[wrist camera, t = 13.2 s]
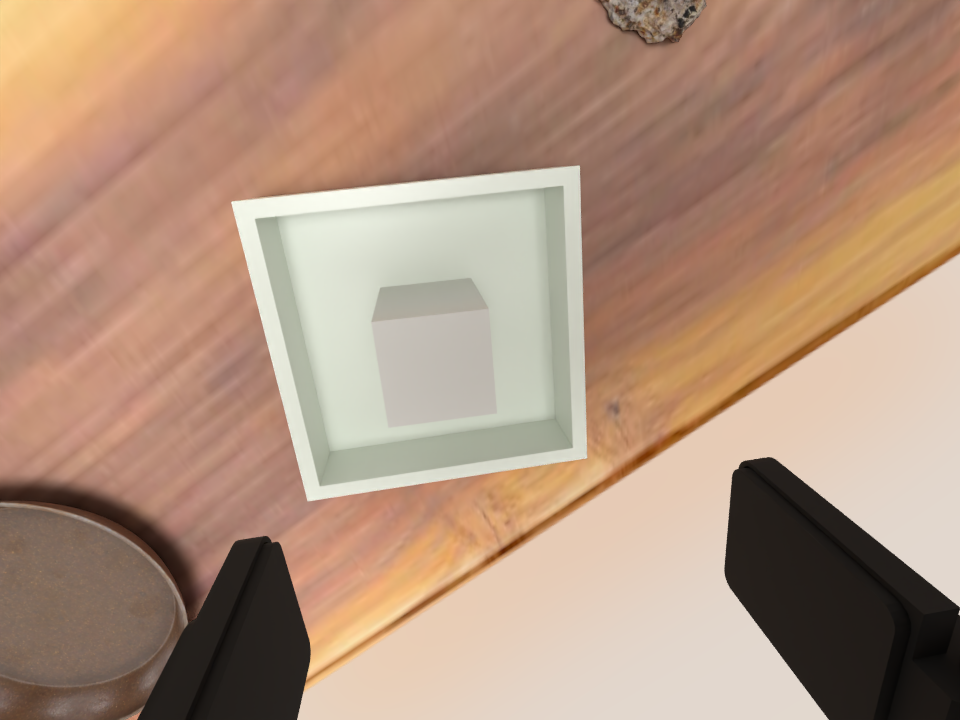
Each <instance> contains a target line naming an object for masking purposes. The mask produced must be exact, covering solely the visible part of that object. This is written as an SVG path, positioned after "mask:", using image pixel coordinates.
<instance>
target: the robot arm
mask: <svg viewBox="0 0 960 720" xmlns="http://www.w3.org/2000/svg"><path fill="white" fill-rule="evenodd" d="M725 577H726V580H727V583H728V585H729V587H730V588H731V590H732V591H733V592H734V594H735V595H736V597H737V598H738V599H739V601H740V602H741V603H742V605H743V606H744V607H745V608H746V610H747V611H748V612H749V614H750V615H751V617H752V618H753V619H754V621H755V622H756V623H757V624H758V626H759V627H760V629H761V630H762V631H763V633H764V634H765V635H766V637H767V638H768V639H769V640H770V642H771V643H772V645H773V646H774V647H775V649H776V650H777V651H778V653H779V654H780V655H781V656H782V658H783V659H784V661H785V662H786V663H787V664H788V666H789V667H790V669H791V670H792V671H793V672H794V674H795V675H796V676H797V678H798V679H799V681H800V682H801V683H802V684H803V686H804V687H805V689H806V690H807V691H808V692H809V694H810V695H811V697H812V698H813V699H814V701H815V702H816V703H817V705H818V706H819V707H820V708H821V710H822V711H823V712H824V714H825V715H826V717H827V718H828V719H829V720H960V615H958V613H959V610H960V607H959V606H957V605H956V604H955V603H953V602H952V601H951V600H950V599H948V598H947V597H946V596H945V595H944V594H942V593H941V592H940V591H939V590H937V589H936V588H935V587H933V586H932V585H931V584H930V583H929V582H927V581H926V580H925V579H924V578H923V577H921V576H920V575H919V574H918V573H916V572H915V571H914V570H912V569H911V568H910V567H909V566H907V565H906V564H905V563H904V562H903V561H901V560H900V559H899V558H898V557H896V556H895V555H894V554H893V553H891V552H890V551H889V550H888V549H886V548H885V547H884V546H883V545H881V544H880V543H879V542H878V541H876V540H875V539H874V538H873V537H871V536H870V535H869V534H868V533H867V532H865V531H864V530H863V529H862V528H860V527H859V526H858V525H857V524H855V523H854V522H853V521H851V520H850V519H849V518H848V517H847V516H845V515H844V514H843V513H842V512H840V511H839V510H838V509H837V508H835V507H834V506H833V505H832V504H830V503H829V502H828V501H826V500H825V499H824V498H823V497H822V496H820V495H819V494H818V493H817V492H816V491H814V490H813V489H812V488H810V487H809V486H808V485H807V484H805V483H804V482H803V481H802V480H801V479H799V478H798V477H797V476H796V475H794V474H793V473H792V472H791V471H789V470H788V469H787V468H786V467H784V466H783V465H782V464H780V463H779V462H778V461H777V460H775V459H773V458H770V457H767V458H760V459H754V460H747V461H743V462H742V463H741V464H740V465H739V469H737V470H735V471H734V472H733V475H732V485H731V497H730V509H729V521H728V533H727V545H726V557H725ZM310 655H311V650H310V642H309V638H308V634H307V631H306V628H305V624H304V621H303V618H302V614H301V611H300V608H299V604H298V601H297V598H296V594H295V591H294V588H293V584H292V581H291V578H290V574H289V571H288V568H287V564H286V561H285V557H284V554H283V551H282V548H281V545H280V544H279V542H273V543H272V542H271V540H270V538H269V537H267V536H263V537H256V538H250V539H243V540H238V541H236V542H235V543H234V544H233V546H232V548H231V550H230V552H229V554H228V556H227V558H226V560H225V562H224V564H223V566H222V568H221V570H220V572H219V574H218V576H217V578H216V580H215V582H214V584H213V586H212V588H211V590H210V592H209V594H208V596H207V598H206V600H205V602H204V604H203V606H202V608H201V610H200V612H199V614H198V616H197V618H196V620H192V621H191V622H190V623H189V624H187V626H186V627H185V629H184V630H183V632H182V634H181V635H180V637H179V639H178V641H177V643H176V645H175V647H174V649H173V651H172V653H171V655H170V657H169V659H168V661H167V663H166V665H165V667H164V669H163V671H162V673H161V675H160V676H159V678H158V680H157V682H156V684H155V686H154V688H153V690H152V692H151V694H150V696H149V698H148V700H147V702H146V704H145V706H144V708H143V710H142V712H141V714H140V715H139V717H138V719H137V720H297V718H298V713H299V709H300V704H301V700H302V695H303V691H304V686H305V682H306V677H307V672H308V668H309V663H310Z"/></svg>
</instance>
